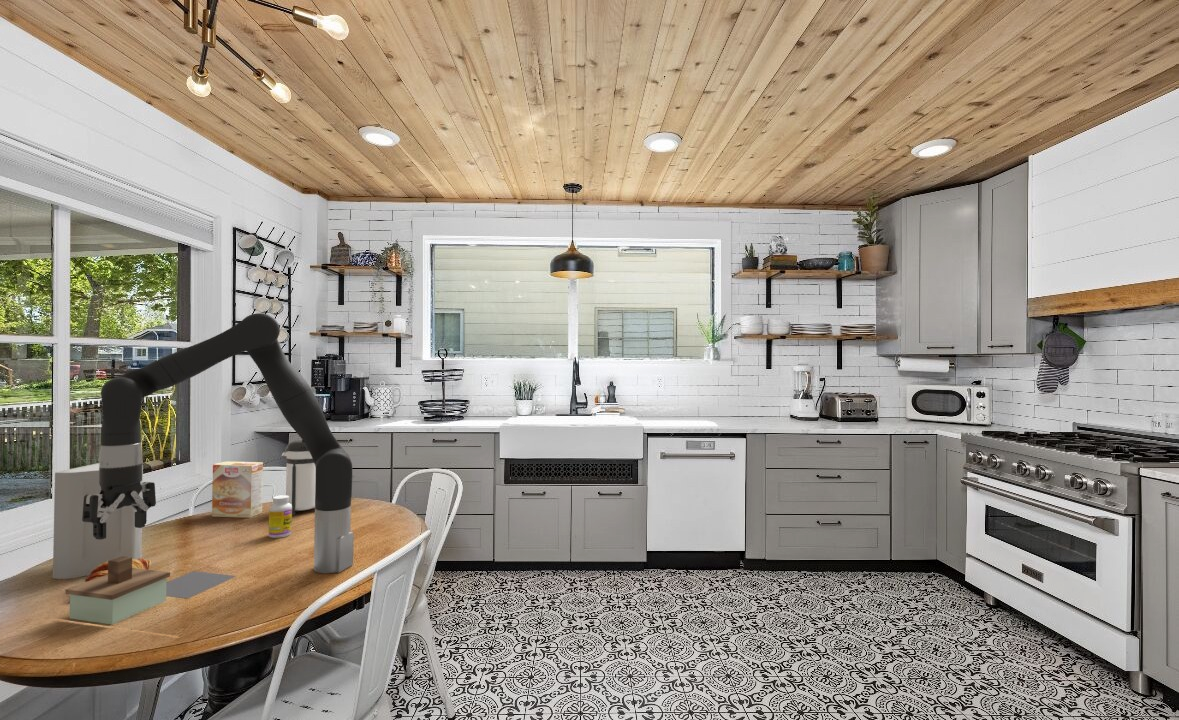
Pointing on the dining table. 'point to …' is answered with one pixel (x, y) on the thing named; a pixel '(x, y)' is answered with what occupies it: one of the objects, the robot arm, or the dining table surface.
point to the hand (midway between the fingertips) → (121, 532)
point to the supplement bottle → (280, 517)
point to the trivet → (194, 583)
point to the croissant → (103, 568)
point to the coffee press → (300, 476)
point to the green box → (117, 604)
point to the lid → (118, 580)
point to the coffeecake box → (237, 489)
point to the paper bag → (88, 526)
